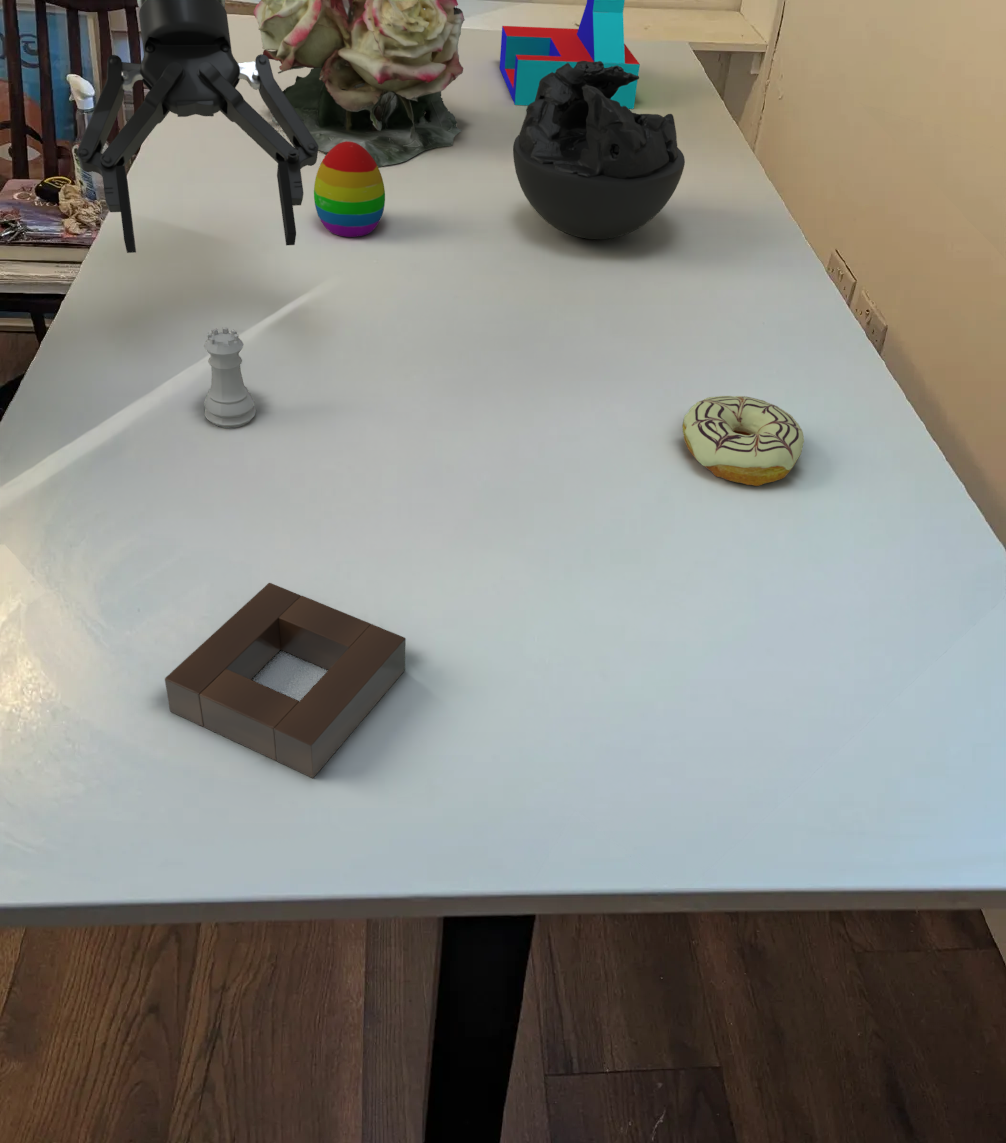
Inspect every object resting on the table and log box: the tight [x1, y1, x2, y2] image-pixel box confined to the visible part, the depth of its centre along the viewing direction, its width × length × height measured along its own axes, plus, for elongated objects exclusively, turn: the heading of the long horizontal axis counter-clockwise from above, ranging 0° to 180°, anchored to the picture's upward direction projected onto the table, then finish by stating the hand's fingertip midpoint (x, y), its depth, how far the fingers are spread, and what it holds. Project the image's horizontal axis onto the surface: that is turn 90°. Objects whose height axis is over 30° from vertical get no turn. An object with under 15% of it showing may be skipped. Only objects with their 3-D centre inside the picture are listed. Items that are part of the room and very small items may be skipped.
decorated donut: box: [681, 395, 805, 487], centre depth 99 cm, size 10×11×4 cm
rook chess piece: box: [203, 327, 257, 429], centre depth 97 cm, size 4×4×8 cm
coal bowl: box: [512, 61, 686, 240], centre depth 131 cm, size 20×20×19 cm
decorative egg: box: [313, 141, 386, 238], centre depth 130 cm, size 8×8×10 cm
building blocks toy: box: [499, 0, 641, 110], centre depth 178 cm, size 19×25×18 cm
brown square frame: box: [164, 582, 407, 779], centre depth 73 cm, size 11×11×3 cm
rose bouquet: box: [253, 0, 466, 168], centre depth 149 cm, size 26×29×30 cm
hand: (212, 243), depth 97 cm, fingers open, 13 cm apart
